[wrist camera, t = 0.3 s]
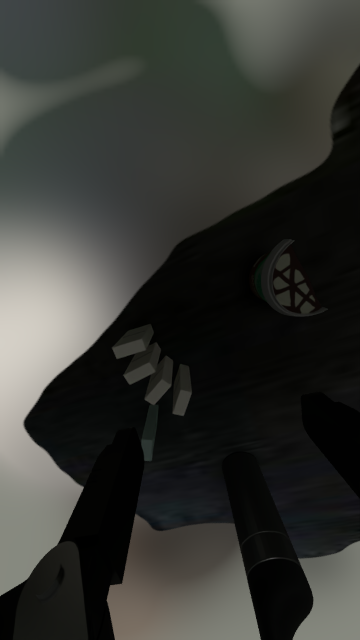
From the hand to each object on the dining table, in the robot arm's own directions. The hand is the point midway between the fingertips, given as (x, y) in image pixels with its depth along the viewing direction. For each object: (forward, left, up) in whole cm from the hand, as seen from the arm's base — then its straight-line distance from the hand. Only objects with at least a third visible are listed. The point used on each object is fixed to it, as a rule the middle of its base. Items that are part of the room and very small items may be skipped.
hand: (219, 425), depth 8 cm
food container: (+1, -15, -28) cm, 32 cm away
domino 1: (-1, +11, -28) cm, 30 cm away
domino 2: (-6, +11, -28) cm, 30 cm away
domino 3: (-21, +15, -28) cm, 38 cm away
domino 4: (-10, +9, -28) cm, 31 cm away
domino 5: (-13, +6, -28) cm, 32 cm away
